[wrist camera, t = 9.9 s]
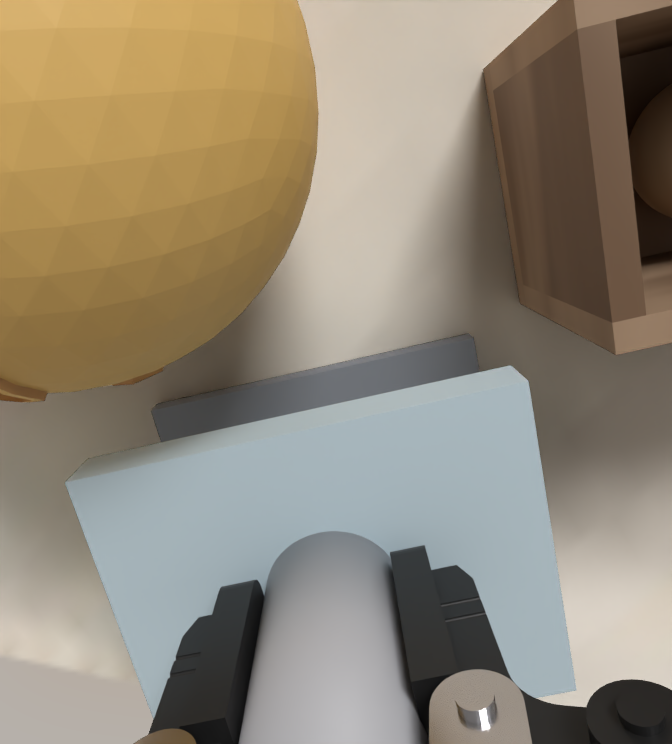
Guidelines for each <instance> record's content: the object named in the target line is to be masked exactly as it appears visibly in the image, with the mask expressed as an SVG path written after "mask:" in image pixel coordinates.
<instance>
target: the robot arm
mask: <svg viewBox="0 0 672 744" xmlns="http://www.w3.org/2000/svg"><path fill="white" fill-rule="evenodd" d="M390 557H391V563H392V569H393V575H394V582H395V588H396V594H397V600H398V606H399V612H400V618H401V625H402V631H403V637H404V643H405V649H406V655H407V661H408V668H409V674H410V680H411V685H412V689H413V693H414V697H415V702H416V706H417V710H418V714H419V718H420V721H421V723H422V725H423V727H424V729H425V731H426V733H427V736H428V739H429V744H672V690H670V689H668V688H666V687H664V686H662V685H659V684H656V683H653V682H648V681H643V680H620V681H615V682H612V683H609V684H606V685H605V686H603V687H601V688H599V689H598V690H597V691H596V692H595V693H594V694H593V695H592V696H591V698H590V700H589V702H588V704H587V708H586V707H574V706H563V705H556V704H551V703H547V702H543V701H541V700H538V699H536V698H534V697H532V696H530V695H528V694H527V693H525V692H524V691H523V690H521V689H520V688H519V687H518V686H517V685H516V684H515V683H514V681H513V680H512V679H511V677H510V675H509V673H508V671H507V668H506V665H505V663H504V660H503V657H502V655H501V652H500V649H499V647H498V644H497V641H496V639H495V636H494V633H493V631H492V628H491V625H490V622H489V620H488V617H487V615H486V612H485V609H484V606H483V604H482V601H481V600H480V596H479V593H478V590H477V588H476V585H475V582H474V580H473V578H472V577H471V576H470V575H468V574H467V573H466V572H465V571H464V570H462V569H461V568H460V567H459V566H457V565H453V566H448V567H443V568H439V569H434V570H431V567H430V563H429V559H428V556H427V552H426V548H425V545H422V546H417V547H412V548H407V549H403V550H398V551H393V552H390ZM263 602H264V594H263V590H262V587H261V585H260V583H259V581H258V580H251V581H247V582H242V583H237V584H232V585H227V586H222V587H221V588H220V590H219V593H218V596H217V599H216V603H215V606H214V609H213V613H212V615H207V616H202V617H198V619H197V620H196V621H195V622H194V623H193V625H192V626H191V627H190V628H189V629H188V631H187V632H186V633H185V634H184V636H183V637H182V640H181V642H180V645H179V648H178V651H177V654H176V661H174V663H173V665H172V668H171V671H170V678H168V680H167V683H166V685H165V688H164V691H163V694H162V697H161V700H160V703H159V706H158V708H157V711H156V714H155V717H154V720H153V723H152V726H151V728H150V731H149V734H148V735H147V736H145V737H143V738H142V739H140V740H138V741H137V742H135V743H134V744H239V738H240V733H241V727H242V721H243V716H244V710H245V704H246V699H247V693H248V687H249V681H250V676H251V670H252V664H253V659H254V653H255V647H256V642H257V636H258V630H259V625H260V619H261V613H262V608H263Z"/></svg>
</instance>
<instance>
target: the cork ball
mask: <svg viewBox="0 0 672 744" xmlns="http://www.w3.org/2000/svg"><path fill="white" fill-rule="evenodd" d="M628 144H629V154H630V163H631V173H632V182H633V186H634V188H635V190H636V191H637V193H638V194H639V196H640V197H641V198H642V199H643V200H644V201H645V202H646V203H647V204H648V205H649V206H650V207H652V208H653V209H655V210H656V211H658V212H660V213H662V214H664V215H666V216H669V217H671V218H672V84H670V85H669V86H667V87H666V88H665V89H664V90H662V91H661V92H660V93H659V94H658V95H656V96H655V97H654V98H653V99H652V100H651V101H650V102H649V104H648V105H647V106H646V107H645V109H644V110H643V111H642V113H641V115H640V116H639V118H638V119H637V121H636V123H635V125H634V127H633V129H632V132H631V135H630V138H629V143H628Z"/></svg>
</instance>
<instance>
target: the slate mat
mask: <svg viewBox="0 0 672 744" xmlns="http://www.w3.org/2000/svg"><path fill="white" fill-rule="evenodd" d="M478 372H480V371H479V365H478V360H477V354H476V349H475V343H474V338H473V337H472V336H471V335H470V334H469V333H468V334H464V335H460V336H455V337H451V338H446V339H442V340H438V341H433V342H429V343H424V344H420V345H415V346H411V347H407V348H402V349H398V350H393V351H389V352H385V353H380V354H376V355H371V356H367V357H363V358H358V359H354V360H349V361H345V362H340V363H336V364H332V365H327V366H323V367H318V368H314V369H310V370H305V371H301V372H296V373H292V374H288V375H283V376H279V377H274V378H270V379H265V380H261V381H257V382H252V383H248V384H243V385H239V386H235V387H230V388H226V389H221V390H217V391H213V392H208V393H204V394H199V395H195V396H190V397H186V398H182V399H177V400H173V401H168V402H164V403H160V404H157V405H156V406H155V407H154V408H153V409H152V410H151V412H152V415H153V418H154V421H155V425H156V428H157V431H158V434H159V437H160V440H161V442H165V441H170V440H174V439H179V438H183V437H188V436H192V435H197V434H201V433H206V432H210V431H215V430H219V429H224V428H228V427H233V426H238V425H242V424H247V423H251V422H256V421H260V420H265V419H269V418H274V417H278V416H283V415H287V414H292V413H296V412H301V411H306V410H310V409H315V408H319V407H324V406H328V405H333V404H337V403H342V402H346V401H351V400H355V399H360V398H364V397H369V396H374V395H378V394H383V393H387V392H392V391H396V390H401V389H405V388H410V387H414V386H419V385H423V384H428V383H432V382H437V381H442V380H446V379H451V378H455V377H460V376H464V375H469V374H473V373H478Z"/></svg>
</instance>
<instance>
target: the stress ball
mask: <svg viewBox="0 0 672 744" xmlns="http://www.w3.org/2000/svg"><path fill="white" fill-rule="evenodd" d="M317 133H318V102H317V89H316V75H315V66H314V61H313V57H312V53H311V48H310V44H309V39H308V35H307V30H306V26H305V22H304V19H303V16H302V13H301V10H300V7H299V4H298V1H297V0H0V400H4V401H15V402H37V401H45V398H46V395H47V393H60V392H76V391H81V390H86V389H92V388H97V387H103V386H108V385H112V386H116V385H128V384H135V383H137V382H139V381H142V380H144V379H146V378H148V377H150V376H153V375H155V374H157V373H159V372H162V371H163V368H164V366H166V365H168V364H170V363H172V362H174V361H176V360H178V359H180V358H182V357H183V356H185V355H187V354H188V353H190V352H192V351H193V350H195V349H196V348H198V347H200V346H201V345H203V344H205V343H206V342H208V341H209V340H211V339H213V338H214V337H215V336H216V335H217V334H218V333H219V332H221V331H222V330H223V329H224V328H225V327H226V326H228V325H229V324H230V323H231V322H232V321H233V320H234V319H236V318H237V317H238V316H239V315H240V314H241V313H242V312H243V311H244V310H245V309H246V308H247V306H248V305H249V304H250V303H251V302H252V301H253V299H254V298H255V297H256V296H257V295H258V294H259V292H260V291H261V290H262V289H263V288H264V286H265V285H266V283H267V282H268V280H269V279H270V277H271V276H272V274H273V273H274V271H275V270H276V268H277V267H278V265H279V264H280V262H281V261H282V259H283V258H284V256H285V254H286V252H287V250H288V248H289V245H290V243H291V241H292V239H293V237H294V234H295V232H296V230H297V228H298V226H299V223H300V220H301V217H302V214H303V211H304V208H305V205H306V202H307V199H308V196H309V192H310V187H311V182H312V176H313V170H314V164H315V159H316V153H317Z"/></svg>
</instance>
